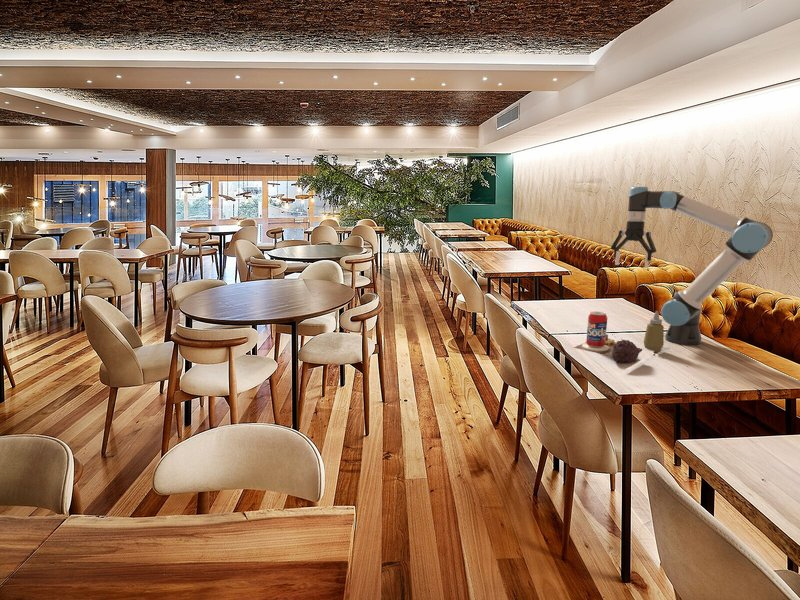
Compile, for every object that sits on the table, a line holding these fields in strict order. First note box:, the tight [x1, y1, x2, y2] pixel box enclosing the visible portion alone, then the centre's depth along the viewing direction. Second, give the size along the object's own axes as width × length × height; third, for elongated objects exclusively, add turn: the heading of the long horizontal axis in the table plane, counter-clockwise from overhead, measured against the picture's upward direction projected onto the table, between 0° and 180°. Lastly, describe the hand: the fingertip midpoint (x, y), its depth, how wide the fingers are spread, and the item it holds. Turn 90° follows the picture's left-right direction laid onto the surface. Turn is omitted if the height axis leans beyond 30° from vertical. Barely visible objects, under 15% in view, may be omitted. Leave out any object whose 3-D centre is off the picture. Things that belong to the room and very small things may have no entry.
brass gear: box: [605, 333, 615, 346], centre depth 243 cm, size 8×8×4 cm
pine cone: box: [611, 339, 643, 364], centre depth 218 cm, size 18×10×10 cm, turn 126°
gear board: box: [573, 341, 617, 356], centre depth 239 cm, size 14×22×2 cm, turn 136°
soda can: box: [585, 311, 608, 348], centre depth 234 cm, size 8×8×15 cm
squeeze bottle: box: [643, 310, 665, 354], centre depth 235 cm, size 8×8×18 cm
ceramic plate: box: [581, 342, 609, 352], centre depth 236 cm, size 11×11×1 cm
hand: (631, 266), depth 252 cm, fingers open, 13 cm apart
